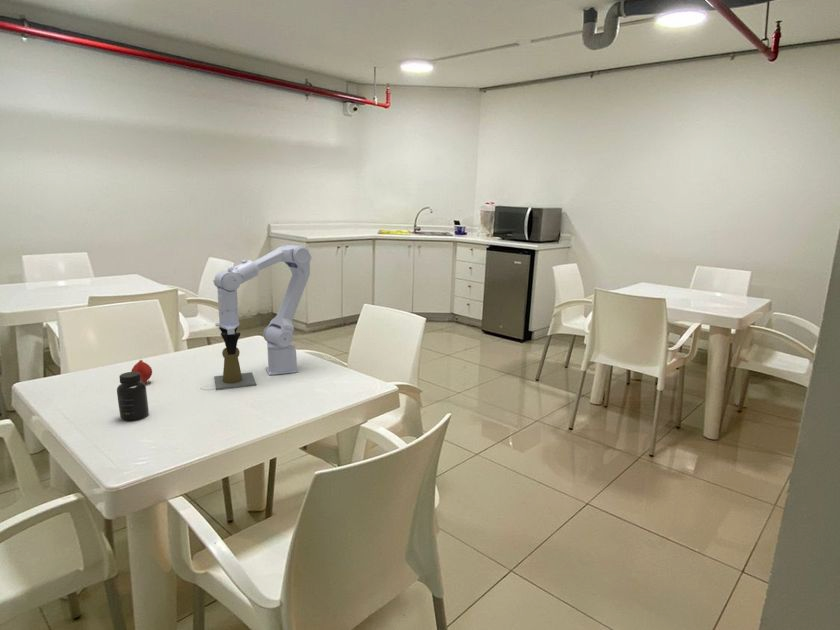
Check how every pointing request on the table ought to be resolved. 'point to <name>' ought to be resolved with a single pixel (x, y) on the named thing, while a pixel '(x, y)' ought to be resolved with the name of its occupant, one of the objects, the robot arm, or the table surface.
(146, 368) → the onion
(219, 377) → the placemat
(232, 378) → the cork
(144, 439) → the table surface
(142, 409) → the supplement bottle
